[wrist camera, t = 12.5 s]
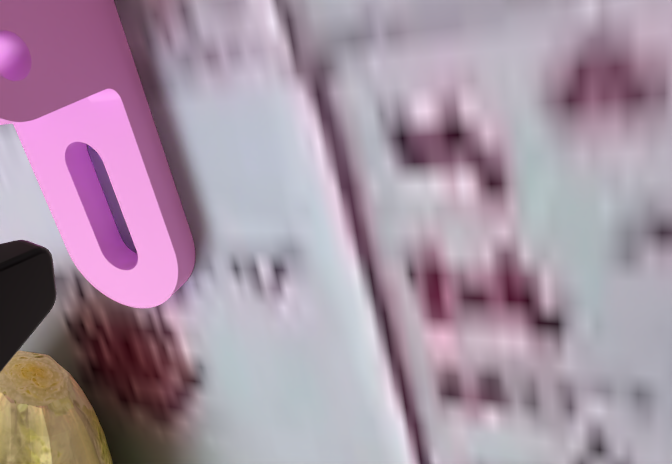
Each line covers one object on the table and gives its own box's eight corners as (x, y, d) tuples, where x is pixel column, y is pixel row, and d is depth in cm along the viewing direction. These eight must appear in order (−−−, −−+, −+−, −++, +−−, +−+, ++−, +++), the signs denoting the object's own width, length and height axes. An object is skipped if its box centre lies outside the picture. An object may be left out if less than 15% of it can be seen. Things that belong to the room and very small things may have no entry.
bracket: (-10, -7, 24) (-205, 31, 18) (104, -35, 22) (-78, -1, 16) (111, 289, 29) (-10, 389, 24) (213, 292, 27) (105, 404, 21)
